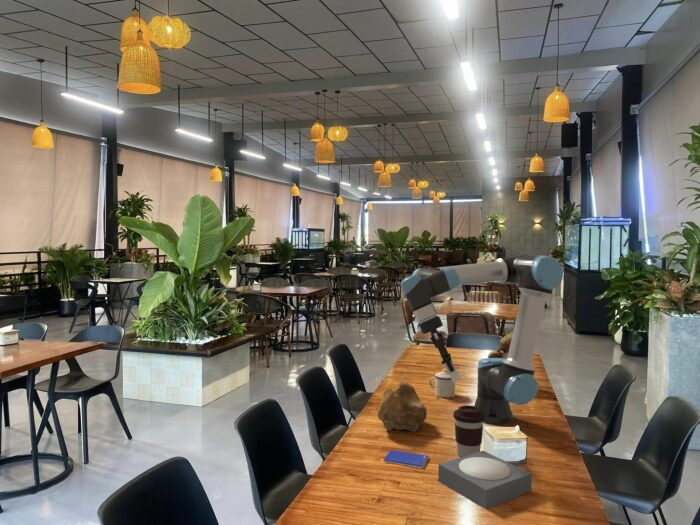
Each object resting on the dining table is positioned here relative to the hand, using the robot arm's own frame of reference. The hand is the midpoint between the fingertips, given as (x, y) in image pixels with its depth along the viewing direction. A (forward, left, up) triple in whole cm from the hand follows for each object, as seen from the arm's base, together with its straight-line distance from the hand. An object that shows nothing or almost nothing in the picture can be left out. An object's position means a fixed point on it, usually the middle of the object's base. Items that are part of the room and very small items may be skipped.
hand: (455, 378), depth 173 cm
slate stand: (+11, +24, -23) cm, 35 cm away
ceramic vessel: (-71, -36, -24) cm, 83 cm away
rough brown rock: (+2, -24, -24) cm, 34 cm away
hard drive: (+19, -1, -24) cm, 31 cm away
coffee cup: (-1, +6, -24) cm, 24 cm away
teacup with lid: (-37, -46, -24) cm, 64 cm away
